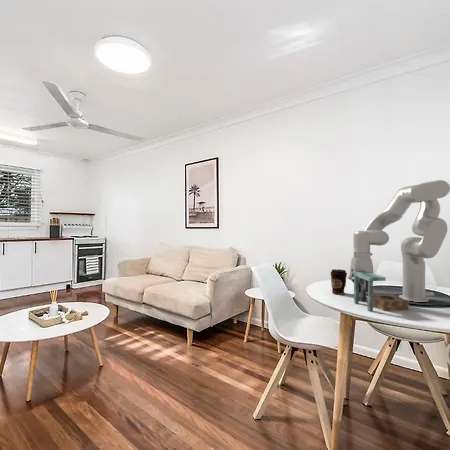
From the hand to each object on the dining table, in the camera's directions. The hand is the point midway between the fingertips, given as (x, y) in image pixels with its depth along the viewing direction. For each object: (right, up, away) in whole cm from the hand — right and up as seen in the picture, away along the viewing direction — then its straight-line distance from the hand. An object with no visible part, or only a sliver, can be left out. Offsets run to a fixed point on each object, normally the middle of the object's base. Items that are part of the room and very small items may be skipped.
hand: (362, 291), depth 143 cm
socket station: (+4, -5, -10) cm, 11 cm away
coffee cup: (-6, -4, +14) cm, 16 cm away
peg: (0, -4, 0) cm, 4 cm away
